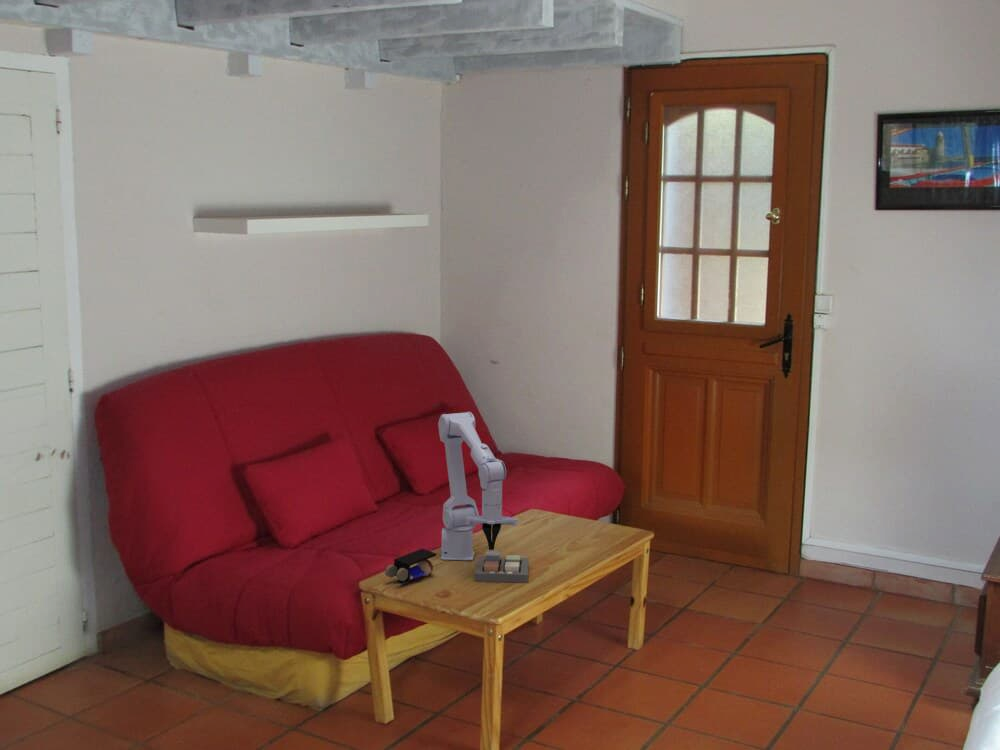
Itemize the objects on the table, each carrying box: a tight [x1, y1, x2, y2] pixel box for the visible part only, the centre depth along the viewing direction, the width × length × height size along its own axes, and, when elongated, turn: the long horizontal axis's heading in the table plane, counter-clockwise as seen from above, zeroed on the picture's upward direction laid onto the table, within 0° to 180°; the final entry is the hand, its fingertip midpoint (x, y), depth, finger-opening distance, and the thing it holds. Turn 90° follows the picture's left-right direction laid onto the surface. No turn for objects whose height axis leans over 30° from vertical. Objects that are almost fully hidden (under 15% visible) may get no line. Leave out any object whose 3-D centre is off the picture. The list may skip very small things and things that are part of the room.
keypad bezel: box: [473, 556, 530, 584], centre depth 334 cm, size 15×15×3 cm
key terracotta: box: [484, 561, 499, 572], centre depth 331 cm, size 4×4×2 cm
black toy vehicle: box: [384, 548, 437, 586], centre depth 327 cm, size 7×8×15 cm
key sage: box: [505, 554, 521, 566], centre depth 336 cm, size 4×4×3 cm
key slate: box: [484, 550, 501, 564], centre depth 336 cm, size 4×4×3 cm
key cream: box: [505, 562, 519, 572], centre depth 330 cm, size 4×4×2 cm
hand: (491, 548), depth 330 cm, fingers closed
